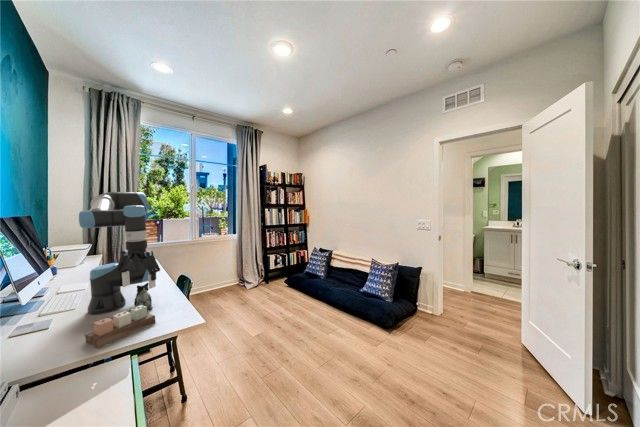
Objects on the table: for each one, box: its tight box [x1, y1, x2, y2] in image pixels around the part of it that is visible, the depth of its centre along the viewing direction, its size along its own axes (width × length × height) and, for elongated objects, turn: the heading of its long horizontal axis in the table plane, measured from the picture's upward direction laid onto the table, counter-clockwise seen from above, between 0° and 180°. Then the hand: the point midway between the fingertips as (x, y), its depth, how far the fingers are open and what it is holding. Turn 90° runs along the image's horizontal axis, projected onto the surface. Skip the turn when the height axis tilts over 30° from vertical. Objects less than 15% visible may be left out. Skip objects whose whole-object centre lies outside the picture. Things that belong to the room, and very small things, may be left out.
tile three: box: [129, 305, 148, 321], centre depth 108 cm, size 4×4×5 cm
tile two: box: [112, 310, 131, 328], centre depth 102 cm, size 4×4×5 cm
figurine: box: [129, 282, 153, 312], centre depth 121 cm, size 10×10×15 cm
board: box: [84, 312, 156, 350], centre depth 102 cm, size 10×21×4 cm, turn 156°
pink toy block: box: [93, 317, 114, 337], centre depth 96 cm, size 4×4×5 cm
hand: (139, 286), depth 105 cm, fingers open, 13 cm apart
